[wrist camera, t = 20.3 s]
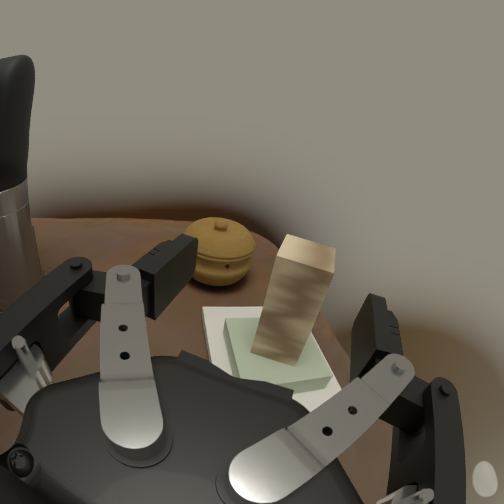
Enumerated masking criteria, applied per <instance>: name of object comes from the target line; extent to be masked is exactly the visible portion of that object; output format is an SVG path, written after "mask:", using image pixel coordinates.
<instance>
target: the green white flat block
mask: <svg viewBox="0 0 504 504" xmlns="http://www.w3.org/2000/svg"><path fill="white" fill-rule="evenodd" d="M262 308H263V307H202V320H203V327H204V333H205V340H206V346H207V352H208V357H209V362H211V363H212V364H214V365H216V366H217V367H219V368H220V369H222V370H223V371H225V372H226V373H228V374H230V375H231V376H233V377H236V378H242V379H250V380H258V381H266V382H269V383H272V384H276V385H279V386H282V387H285V388H289V389H292V390H294V392H293V396H292V399H294V400H296V401H297V402H299V403H300V404H302V405H303V406H304V407H305V408H306V409H307V410H308V411H309V412H311V411H313V410H314V409H316V408H317V407H319V406H320V405H321V404H323V403H324V402H326V401H327V400H328V399H330V398H331V397H332V396H334V395H335V394H336V393H338V392H339V391H340V390H341V388H340V386H339V384H338V382H337V380H336V378H335V376H334V374H333V372H332V370H331V369H330V367H329V365H328V363H327V361H326V359H325V357H324V355H323V353H322V352H321V350H320V348H319V346H318V344H317V342H316V340H315V338H314V336H313V335H312V333H311V332H310V334H309V337H308V339H307V341H306V344H305V346H304V348H303V350H302V353H301V355H300V357H299V359H298V361H297V363H296V366H295V367H294V366H290V365H287V364H284V363H280V362H277V361H274V360H271V359H268V358H265V357H262V356H259V355H256V354H253V353H250V352H251V348H252V345H253V341H254V338H255V334H256V330H257V327H258V323H259V319H260V316H261V312H262Z"/></svg>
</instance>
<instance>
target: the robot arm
mask: <svg viewBox="0 0 504 504" xmlns="http://www.w3.org/2000/svg"><path fill="white" fill-rule="evenodd" d="M34 85H35V69H34V64H33V61H32V60H31V58H30V57H28V56H26V55H18V56H13V57H8V58H3V59H0V310H2V311H3V312H1V313H0V403H1V404H2V405H3V406H4V407H5V408H6V409H8V410H10V411H16V412H17V413H19V414H20V415H21V416H22V417H23V421H22V425H21V429H20V432H19V435H18V437H17V439H16V442H15V443H14V445H13V446H12V447H11V448H10V449H9V450H8V451H6V452H5V453H3V454H1V455H0V504H364V503H363V501H362V500H361V498H360V496H359V495H358V493H357V491H356V489H355V488H354V486H353V484H352V483H351V481H350V479H349V477H348V476H347V474H346V472H345V470H344V469H343V467H342V465H341V463H340V462H339V460H338V458H337V457H338V456H339V455H340V454H341V453H342V452H343V451H344V450H345V449H347V448H348V447H349V446H350V445H351V444H352V443H353V442H354V441H355V440H356V439H357V438H359V437H360V436H361V435H362V434H363V433H364V432H365V431H366V430H367V429H368V428H369V427H370V426H371V425H372V424H373V423H374V422H375V421H376V420H377V419H378V418H379V419H381V420H383V421H385V422H387V423H389V424H391V425H393V437H392V451H391V462H390V471H389V479H388V487H387V494H386V496H384V497H382V498H381V499H380V500H379V501H378V502H377V503H376V504H466V468H465V450H464V439H463V428H462V420H461V413H460V406H459V400H458V395H457V390H456V388H455V387H454V385H453V384H452V383H451V382H450V381H449V380H447V379H445V378H442V377H438V378H435V379H434V380H433V381H432V382H431V383H430V384H429V383H427V382H425V381H423V380H422V379H420V378H418V377H416V376H415V371H414V367H413V365H412V364H411V362H410V361H409V360H408V359H407V358H405V357H404V356H403V350H402V344H401V338H400V332H399V326H398V322H397V319H396V317H395V316H394V314H393V313H392V311H388V310H387V305H386V300H385V298H384V297H381V296H377V295H374V294H371V293H370V294H369V295H368V296H367V297H366V300H365V301H364V304H363V305H362V307H361V309H360V311H359V313H358V315H357V317H356V319H355V321H354V324H353V328H352V338H351V341H352V342H351V367H350V383H349V384H348V385H347V386H345V387H344V388H343V389H342V390H340V391H339V392H338V393H336V394H335V395H334V396H332V397H331V398H330V399H328V400H327V401H326V402H324V403H323V404H321V405H320V406H319V407H317V408H316V409H314V410H313V411H311V412H309V411H308V410H307V409H306V408H305V407H304V406H303V405H302V404H300V403H299V402H297V401H296V400H294V399H292V396H293V392H294V390H292V389H289V388H285V387H282V386H279V385H276V384H272V383H269V382H266V381H258V380H250V379H242V378H236V377H233V376H231V375H230V374H228V373H226V372H225V371H223V370H222V369H220V368H219V367H217V366H216V365H214V364H212V363H211V362H209V361H208V360H205V359H203V358H200V357H198V356H195V355H193V354H190V353H188V352H186V351H183V350H182V351H181V352H180V354H179V355H178V357H173V356H154V357H150V351H149V344H148V337H147V330H146V322H145V317H146V316H147V317H149V318H151V319H153V320H156V319H157V317H158V316H159V315H160V314H161V313H162V312H163V311H164V309H165V308H166V307H167V306H168V305H169V304H170V302H171V301H172V300H173V299H174V298H175V297H176V296H177V294H178V293H179V292H180V291H181V290H182V289H183V288H184V287H185V285H186V284H187V283H188V282H189V281H190V280H191V278H192V277H193V275H194V272H195V268H196V259H197V250H198V239H197V238H195V237H192V236H189V235H186V234H181V235H179V236H178V237H177V238H176V239H174V240H173V241H171V240H168V241H165V242H162V243H160V244H158V245H157V246H156V247H154V248H153V249H152V250H151V251H149V252H148V254H145V255H144V256H143V257H142V258H140V259H139V260H138V261H137V262H135V263H134V264H133V265H131V266H130V265H118V266H115V267H113V268H111V269H110V270H109V271H108V272H107V273H106V272H100V271H94V270H92V263H91V261H90V260H89V259H87V258H84V257H74V258H70V259H68V260H66V261H65V262H63V263H62V264H61V265H59V266H58V267H57V268H55V269H54V270H53V271H51V272H50V273H49V274H48V275H46V276H45V277H44V278H43V274H42V270H41V265H40V260H39V255H38V250H37V244H36V238H35V231H34V226H33V224H32V222H31V214H30V206H29V197H28V183H27V160H28V149H29V128H30V117H31V109H32V101H33V94H34ZM68 300H69V304H70V306H69V307H67V308H66V309H65V310H64V311H63V312H62V313H61V314H60V315H59V316H58V312H59V309H60V308H61V307H62V306H63V305H64V304H65V303H66V302H67V301H68ZM96 321H99V322H101V326H100V372H97V373H93V374H90V375H86V376H82V377H78V378H74V379H70V380H66V381H62V382H58V383H54V384H50V383H51V380H52V371H53V370H54V369H55V367H56V366H57V365H58V364H59V363H60V362H61V360H62V359H63V358H64V357H65V356H66V355H67V354H68V352H69V351H70V350H71V349H72V348H73V347H74V346H75V345H76V343H77V342H78V341H79V340H80V339H81V338H82V337H83V336H84V335H85V333H86V332H87V331H88V330H89V329H90V328H91V327H92V326H93V325H94V324H95V323H96Z"/></svg>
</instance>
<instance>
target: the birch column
mask: <svg viewBox="0 0 504 504" xmlns="http://www.w3.org/2000/svg"><path fill="white" fill-rule="evenodd" d="M335 253H336V249H334V248H331V247H328V246H325V245H322V244H318V243H315V242H312V241H308V240H305V239H302V238H299V237H295V236H292V235H289V234H287V235H286V237H285V239H284V241H283V243H282V245H281V247H280V249H279V251H278V253H277V255H276V259H275V263H274V267H273V271H272V275H271V278H270V282H269V286H268V290H267V294H266V297H265V301H264V305H263V308H262V312H261V316H260V319H259V323H258V327H257V330H256V334H255V338H254V341H253V345H252V348H251V352H250V353H253V354H256V355H259V356H262V357H265V358H268V359H271V360H274V361H277V362H280V363H284V364H287V365H290V366H294V367H295V366H296V363H297V361H298V359H299V357H300V355H301V353H302V350H303V348H304V346H305V344H306V341H307V339H308V337H309V334H310V332H311V330H312V327H313V325H314V323H315V320H316V318H317V315H318V313H319V311H320V308H321V306H322V303H323V301H324V298H325V296H326V293H327V291H328V288H329V285H330V283H331V280H332V278H333V275H334V269H335Z"/></svg>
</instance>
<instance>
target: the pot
mask: <svg viewBox="0 0 504 504" xmlns="http://www.w3.org/2000/svg"><path fill="white" fill-rule="evenodd" d="M183 234H186V235H189V236H192V237H195V238H197V239H198V250H197V259H196V268H195V272H194V275H193V278H194V279H195V280H197V281H199V282H201V283H203V284H207V285H211V286H227V285H230V284H233V283H235V282H237V281H239V280H240V279H241V278H243V277H244V276H245V275H246V274H247V273H248V272H249V270H250V268H251V266H252V257H251V255H252V254H253V253H254V251H255V241H254V239H253V236H252V235H251V233H250V232H249V231H248V230H247V229H246V228H245V227H244V226H242V225H241V224H239V223H237V222H234V221H232V220H228V219H224V218H204V219H200V220H197V221H195V222H193V223H192V224H191V225H189V226H188V227H187V228H186V229H185V230H184V232H183Z"/></svg>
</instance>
